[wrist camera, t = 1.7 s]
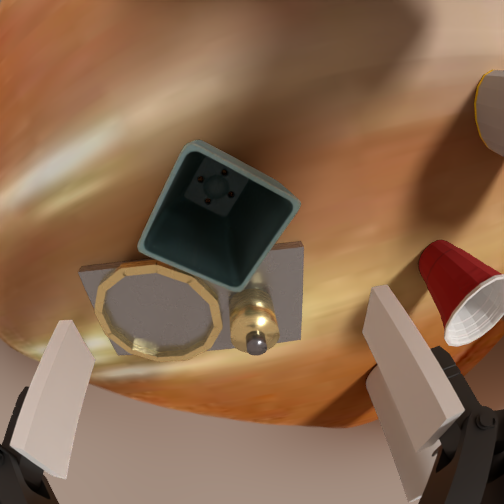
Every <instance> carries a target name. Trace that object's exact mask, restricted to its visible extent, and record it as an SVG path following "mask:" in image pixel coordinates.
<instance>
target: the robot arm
mask: <svg viewBox="0 0 504 504" xmlns="http://www.w3.org/2000/svg"><path fill="white" fill-rule="evenodd" d="M362 333H363V335H364V337H365V339H366V341H367V343H368V345H369V347H370V350H371V352H372V354H373V356H374V358H375V360H376V362H377V364H378V366H379V369H380V371H381V373H382V375H383V377H384V379H385V382H386V384H387V386H388V388H389V390H390V393H391V395H392V397H393V399H394V402H395V404H396V406H397V409H398V411H399V413H400V416H401V418H402V420H403V423H404V425H405V427H406V430H407V432H408V435H409V437H410V439H411V442H412V444H413V447H414V449H415V452H419V451H421V450H423V449H426V448H428V447H430V446H432V445H434V444H435V443H436V442H437V440H438V439H439V440H440V442H441V445H440V446H439V447H438V448H437V449H436V450H435V451H434V452H433V454H432V455H431V456H433V457H434V456H435V455H436V454H437V456H436V459H435V462H434V465H433V468H432V471H431V474H430V476H429V479H428V482H427V484H426V487H425V489H424V492H423V494H422V497H421V499H420V501H419V504H504V409H503V410H498V411H493V410H492V409H490V408H488V407H486V406H482V405H480V403H479V402H478V401H477V399H476V397H475V395H474V394H473V392H472V390H471V388H470V387H469V385H468V383H467V382H466V380H465V378H464V377H463V375H462V374H461V373H460V370H459V368H458V367H457V366H456V364H455V362H454V360H453V359H452V357H451V356H450V354H449V353H448V352H447V351H445V350H444V349H443V348H441V347H440V346H437V347H435V348H432V349H430V348H429V347H428V345H427V343H426V342H425V340H424V339H423V337H422V335H421V334H420V332H419V331H418V329H417V328H416V326H415V325H414V323H413V322H412V320H411V319H410V317H409V316H408V314H407V313H406V311H405V310H404V308H403V307H402V305H401V304H400V302H399V301H398V299H397V298H396V296H395V295H394V294H393V292H392V291H391V289H390V288H389V286H388V285H381V286H376V287H372V288H371V293H370V299H369V304H368V308H367V313H366V318H365V322H364V327H363V331H362ZM94 363H95V358H94V357H93V355H92V353H91V352H90V350H89V349H88V347H87V345H86V343H85V342H84V340H83V338H82V337H81V335H80V333H79V331H78V330H77V328H76V326H75V324H74V322H73V321H72V320H59V322H58V324H57V326H56V328H55V330H54V332H53V334H52V336H51V338H50V341H49V343H48V345H47V347H46V349H45V351H44V354H43V356H42V358H41V360H40V363H39V365H38V367H37V370H36V372H35V375H34V377H33V379H32V382H31V384H30V387H25V388H24V389H23V391H22V392H21V394H20V395H19V397H18V399H17V402H16V407H15V408H14V410H13V415H12V416H11V419H10V422H9V425H8V428H7V431H6V434H5V437H4V441H3V443H2V445H1V444H0V504H59V503H58V501H57V499H56V497H55V495H54V493H53V491H52V489H51V487H50V485H49V483H48V481H47V479H46V477H45V476H44V475H43V471H46V472H47V473H49V474H50V475H52V476H56V477H59V478H63V479H66V478H67V472H68V467H69V461H70V456H71V451H72V447H73V441H74V437H75V432H76V429H77V424H78V420H79V416H80V412H81V408H82V404H83V401H84V397H85V394H86V390H87V387H88V383H89V380H90V376H91V373H92V370H93V367H94Z"/></svg>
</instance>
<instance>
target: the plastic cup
mask: <svg viewBox="0 0 504 504" xmlns="http://www.w3.org/2000/svg"><path fill="white" fill-rule="evenodd" d="M419 271H420V274H421V276H422V277H423V279H424V281H425V283H426V284H427V288H428V290H429V292H430V294H431V296H432V298H433V300H434V302H435V304H436V306H437V308H438V311H439V313H440V315H441V319H442V321H443V326H444V330H445V333H444V339H445V341H446V342H447V343H448V345H450V346H457V347H458V346H461V345H465V344H468V343H470V342H472V341H474V340H476V339H477V338H479V337H481V336H482V335H484V334H485V333H486V332H487V331H488V330H490V329H491V328H492V327H493V326H494V325H495V324H496V323H497V322H498V321H499V319H500V318H501V317H502V316H503V315H504V274H501V273H499V272H498V271H496V270H494V269H493V268H491V267H490V266H487V265H486V264H484V263H483V262H481V261H480V260H478V259H477V258H475V257H473V256H472V255H470V254H469V253H467V252H465V251H464V250H462V249H460V248H458V247H456V246H454V245H453V244H451V243H449V242H447V241H444V240H437V241H435V242H433V243H431V244H430V245H429V246H428V247H427V248H426V249H425V250H424V251H423V253H422V255H421V256H420V260H419Z"/></svg>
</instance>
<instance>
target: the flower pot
mask: <svg viewBox="0 0 504 504" xmlns="http://www.w3.org/2000/svg"><path fill="white" fill-rule="evenodd" d="M222 170H226V171H227V174H226V175H223V174H222V173H221V172H222ZM200 176H201V177H203V179H204V180H203V181H202V182H200V181H198V177H200ZM229 192H233V196H232V197H230V196H229V195H228V193H229ZM207 198H209V199H210V200H211V202H210V203H206V202H205V200H206V199H207ZM300 206H301V202H300V200H299V199H297V198H296V197H295V196H294V195H293V194H292V193H291V192H290V191H288V190H287V189H286V188H285V187H284V186H283V185H282V184H280V183H279V182H278V181H276V180H275V179H273V178H271V177H269V176H268V175H266V174H264V173H262V172H260V171H258V170H257V169H255V168H253V167H251V166H249V165H247V164H246V163H244V162H242V161H240V160H238V159H236V158H234V157H233V156H231V155H229V154H227V153H225V152H223V151H221V150H219V149H217V148H216V147H214V146H212V145H210V144H208V143H206V142H204V141H202V140H194V141H192V142H190V143H187V144H186V145H185V146H184V147H183V149H182V151H181V153H180V154H179V157H178V159H177V161H176V163H175V165H174V167H173V169H172V171H171V173H170V175H169V177H168V179H167V181H166V183H165V186H164V188H163V190H162V192H161V194H160V196H159V198H158V200H157V202H156V205H155V207H154V209H153V211H152V213H151V215H150V217H149V219H148V222H147V224H146V226H145V228H144V231H143V233H142V235H141V237H140V239H139V242H138V245H137V248H138V251H139V252H141V253H143V254H145V255H146V256H149V257H151V258H154V259H156V260H158V261H161V262H163V263H165V264H169V265H170V266H173V267H175V268H178V269H180V270H183V271H185V272H187V273H190V274H192V275H194V276H197V277H199V278H202V279H204V280H206V281H209V282H211V283H214V284H216V285H218V286H220V287H223V288H225V289H227V290H229V291H233V292H241V291H243V290H244V288H245V287H246V285H247V284H248V283H249V281H250V280H251V278H252V277H253V275H254V274H255V272H256V271H257V269H258V268H259V266H260V265H261V263H262V262H263V260H264V259H265V258H266V256H267V255H268V253H269V252H270V250H271V249H272V247H273V246H274V244H275V243H276V241H277V240H278V239H279V237H280V236H281V234H282V233H283V232H284V230H285V229H286V227H287V226H288V225H289V223H290V222H291V220H292V219H293V218H294V217H295V215H296V214H297V212H298V210H299V208H300Z"/></svg>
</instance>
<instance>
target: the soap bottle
mask: <svg viewBox="0 0 504 504" xmlns="http://www.w3.org/2000/svg"><path fill="white" fill-rule="evenodd" d="M474 109H475V122H476V125H477V129H478V132H479V136H480V138H481V139H482V141H483V142H484V144H485V145H486V147H487V148H489V149H490V150H492V151H494V152H495V153H497V154H499V155H501V156H503V157H504V71H502V70H491V71H489V72H488V73H486V74H484V75H483V77H482V79H481V80H480V82H479V84H478V86H477V90H476V95H475V101H474Z"/></svg>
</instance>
